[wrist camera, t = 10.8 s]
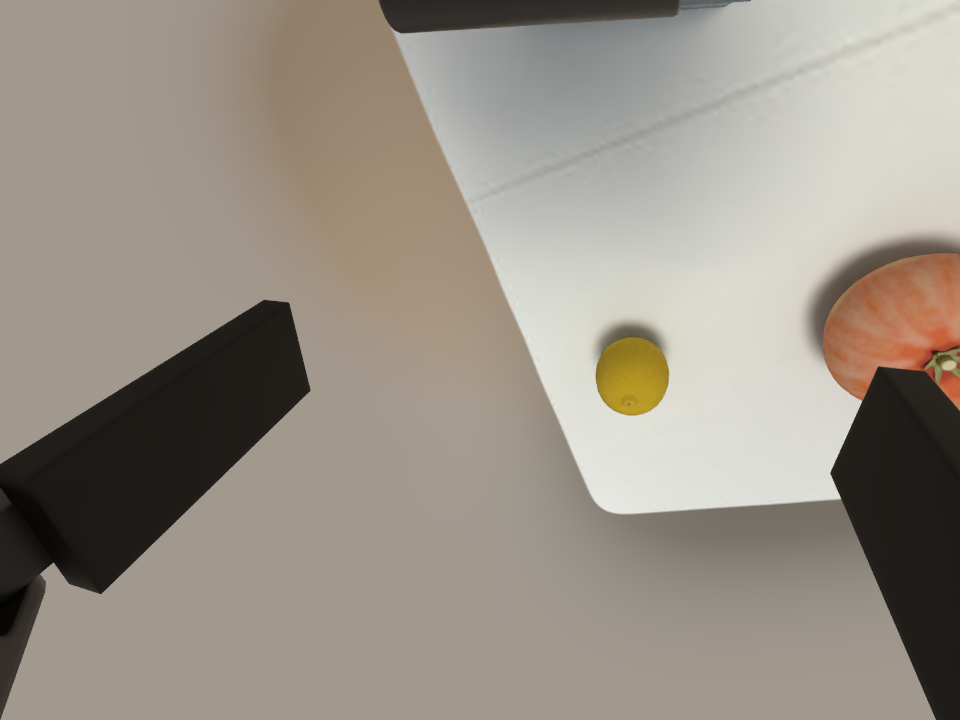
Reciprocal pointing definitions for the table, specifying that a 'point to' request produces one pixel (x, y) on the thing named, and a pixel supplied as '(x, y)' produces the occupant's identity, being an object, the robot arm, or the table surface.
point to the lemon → (632, 376)
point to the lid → (520, 12)
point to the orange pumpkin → (898, 324)
